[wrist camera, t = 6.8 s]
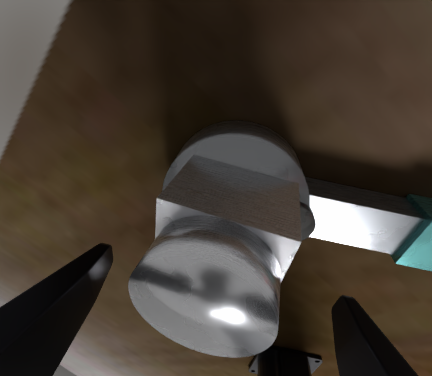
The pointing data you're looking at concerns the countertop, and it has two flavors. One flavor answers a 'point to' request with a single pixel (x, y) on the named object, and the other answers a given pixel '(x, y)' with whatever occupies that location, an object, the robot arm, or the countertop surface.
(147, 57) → the countertop surface
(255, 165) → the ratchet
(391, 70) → the countertop surface
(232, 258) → the cylinder with square end
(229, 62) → the countertop surface
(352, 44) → the countertop surface
